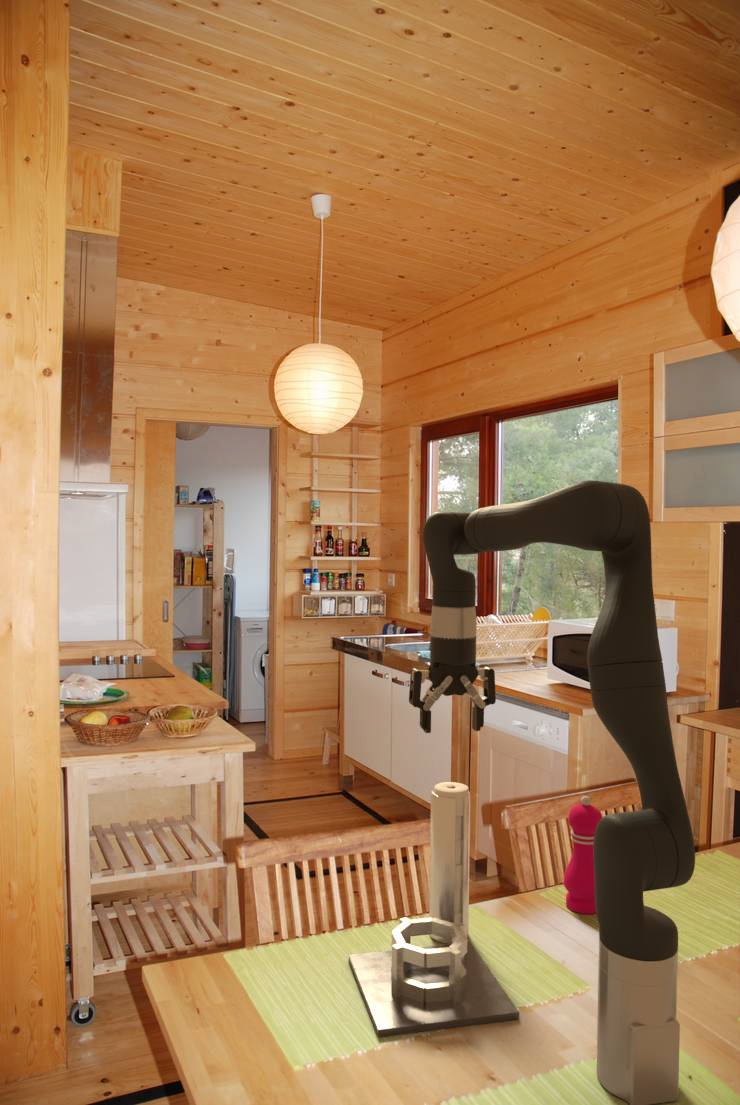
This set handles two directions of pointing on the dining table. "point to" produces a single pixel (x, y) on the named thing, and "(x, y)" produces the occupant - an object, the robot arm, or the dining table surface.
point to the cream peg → (450, 855)
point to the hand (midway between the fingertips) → (451, 731)
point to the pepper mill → (582, 858)
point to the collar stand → (429, 982)
